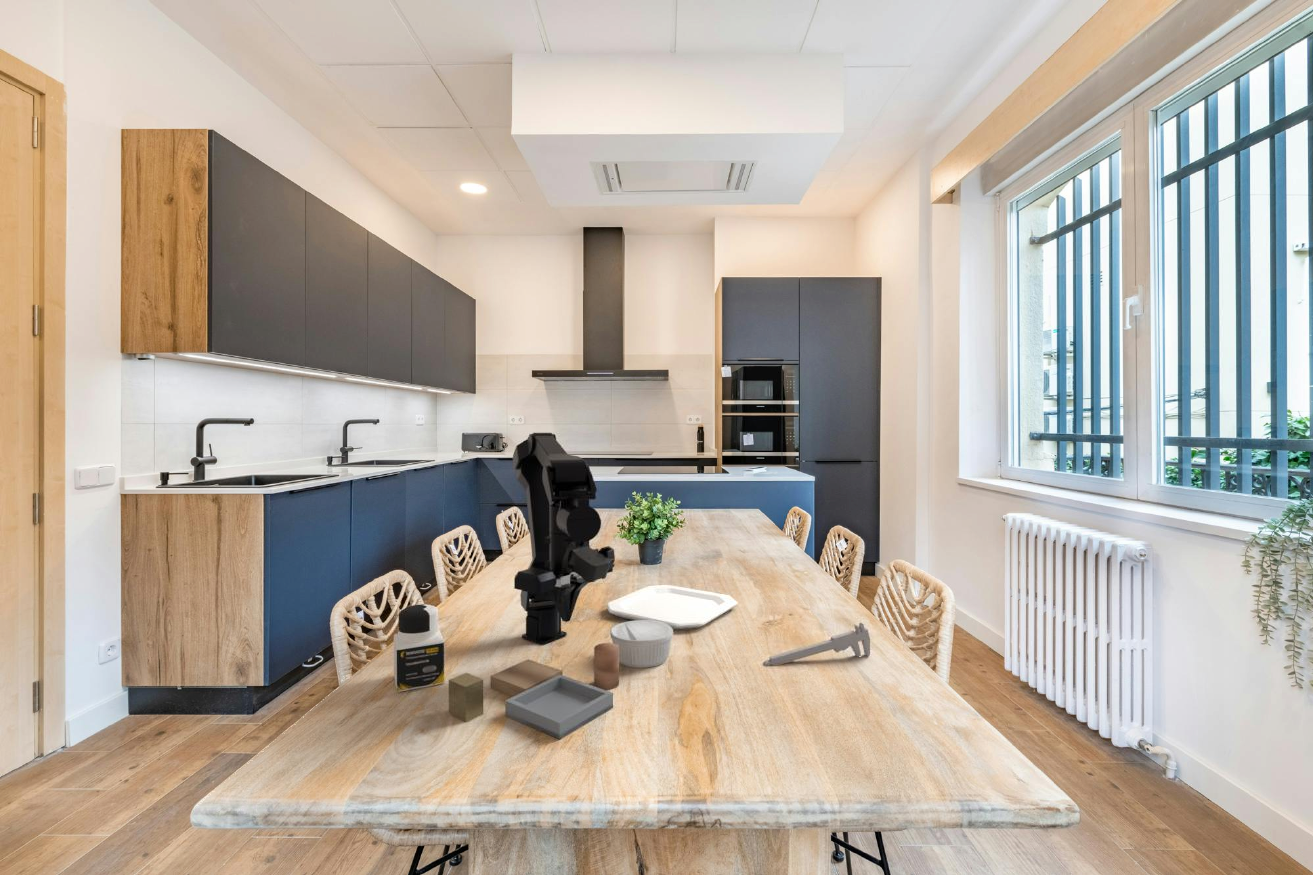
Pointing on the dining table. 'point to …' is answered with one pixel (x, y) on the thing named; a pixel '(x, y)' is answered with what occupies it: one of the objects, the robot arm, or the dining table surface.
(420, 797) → the dining table surface
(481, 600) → the dining table surface
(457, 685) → the rectangular block
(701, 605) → the plate
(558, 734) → the tray
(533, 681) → the board
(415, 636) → the medicine bottle
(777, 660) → the caliper
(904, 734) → the dining table surface
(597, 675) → the dowel
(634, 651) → the ramekin
